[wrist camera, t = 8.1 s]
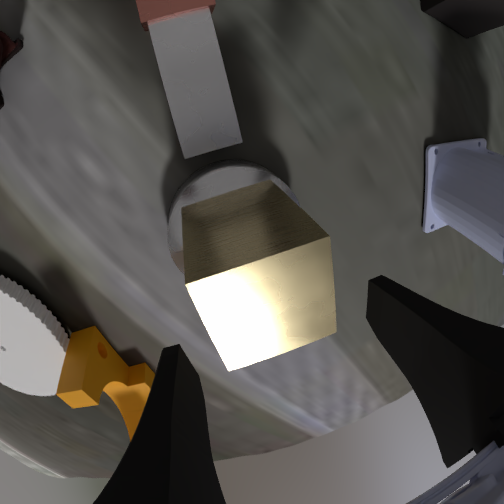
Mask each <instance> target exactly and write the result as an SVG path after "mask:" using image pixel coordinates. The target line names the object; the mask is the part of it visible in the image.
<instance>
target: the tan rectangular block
mask: <svg viewBox="0 0 504 504" xmlns="http://www.w3.org/2000/svg"><path fill="white" fill-rule="evenodd" d="M181 213H182V238H183V257H184V273H185V285H186V287H187V289H188V291H189V293H190V296H191V298H192V300H193V302H194V304H195V306H196V308H197V310H198V312H199V314H200V316H201V318H202V320H203V322H204V324H205V326H206V328H207V330H208V332H209V334H210V336H211V338H212V340H213V342H214V344H215V346H216V348H217V350H218V351H219V353H220V355H221V357H222V359H223V361H224V363H225V365H226V366H227V368H228V370H229V371H231V370H234V369H237V368H240V367H243V366H247V365H250V364H253V363H256V362H259V361H262V360H265V359H268V358H271V357H273V356H276V355H279V354H282V353H285V352H287V351H290V350H293V349H295V348H298V347H301V346H303V345H306V344H309V343H311V342H314V341H316V340H319V339H321V338H324V337H326V336H329V335H331V334H333V333H336V310H335V292H334V278H333V265H332V254H331V243H330V236H329V235H328V234H327V233H326V232H325V231H324V230H323V229H322V228H321V227H320V226H319V225H318V224H317V223H316V222H315V221H314V220H313V219H312V218H311V217H310V216H309V215H308V214H307V213H306V212H305V211H304V210H303V209H302V208H300V207H299V206H298V205H297V204H296V203H295V202H294V201H293V200H292V199H291V198H290V197H289V196H288V195H287V194H286V193H285V192H283V191H282V190H281V189H280V188H279V187H278V186H277V185H276V184H275V183H274V182H273V181H271V180H267V181H263V182H260V183H256V184H253V185H250V186H246V187H243V188H240V189H237V190H233V191H230V192H227V193H224V194H221V195H218V196H215V197H212V198H209V199H205V200H202V201H199V202H196V203H193V204H191V205H188V206H185V207H182V208H181Z"/></svg>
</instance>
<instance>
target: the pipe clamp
mask: <svg viewBox="0 0 504 504" xmlns="http://www.w3.org/2000/svg"><path fill="white" fill-rule="evenodd" d="M154 377H155V374H154V372H153V371H152V370H151V369H150V368H149V367H148V365H147V364H146V363H142V364H138V365H134V366H130V367H129V366H128V365H127V364H126V363H125V362H124V361H123V360H122V358H121V357H120V356H119V355H118V354H117V352H116V351H115V350H114V349H113V348H112V346H111V345H110V344H109V343H108V342H107V340H106V339H105V338H104V337H103V335H102V334H101V333H100V332H99V330H98V329H97V328H96V326H92V327H89V328H86V329H82V330H79V331H76V332H73V333H72V334H71V337H70V341H69V344H68V347H67V351H66V355H65V358H64V362H63V366H62V370H61V374H60V378H59V383H58V387H57V392H56V395H58V396H59V397H60V398H61V399H62V400H63V401H65V402H66V403H67V404H68V405H69V406H71V407H72V408H79V407H86V406H93V405H99V399H100V395H101V393H102V391H104V392H106V393H107V394H108V395H109V396H110V397H111V398H112V400H113V401H114V402H115V404H116V405H117V407H118V408H119V410H120V412H121V414H122V416H123V418H124V420H125V423H126V426H127V429H128V432H129V437H130V441H131V439H132V437H133V435H134V433H135V430H136V428H137V425H138V423H139V420H140V418H141V415H142V412H143V410H144V407H145V404H146V401H147V398H148V395H149V392H150V389H151V386H152V383H153V380H154Z"/></svg>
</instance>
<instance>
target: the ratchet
mask: <svg viewBox="0 0 504 504" xmlns="http://www.w3.org/2000/svg"><path fill="white" fill-rule="evenodd" d="M136 4H137V8H138V12H139V17H140V21H141V24H142V26H143V28H144V30H145V31H148V30H149V31H150V35H151V39H152V43H153V47H154V51H155V55H156V59H157V63H158V66H159V70H160V74H161V78H162V81H163V85H164V89H165V92H166V96H167V100H168V103H169V107H170V110H171V114H172V118H173V121H174V125H175V128H176V131H177V135H178V138H179V142H180V145H181V148H182V152H183V155H184V158H185V159H187V158H190V157H193V156H197V155H200V154H203V153H207V152H210V151H213V150H217V149H221V148H224V147H228V146H231V145H235V144H239V143H243V141H242V137H241V133H240V129H239V125H238V120H237V116H236V112H235V108H234V104H233V100H232V96H231V92H230V88H229V84H228V80H227V76H226V72H225V68H224V64H223V60H222V56H221V52H220V48H219V44H218V40H217V36H216V32H215V28H214V25H213V21H212V17H211V14H212V12H213V10H214V7H215V5H216V4H215V0H136ZM267 180H271V181H273V182H274V183H275V184H276V185H277V186H278V187H279V188H280V189H281V190H282V191H283V192H285V193H286V194H287V195H288V196H289V197H290V198H291V199H292V200H293V201H294V202H295V203H296V204H297V205H298V206H299V207H300V204H299V202H298V200H297V198H296V196H295V195H294V193H293V192H292V191H291V189H290V188H289V187H288V186H287V185H286V184H285V183H284V182H283V181H282V180H280V179H279V178H278V177H277V176H276V175H274V174H273V173H272V172H270V171H269V170H268V169H266V168H265V167H263V166H261V165H259V164H256V163H253V162H250V161H244V160H223V161H219V162H215V163H212V164H209V165H207V166H205V167H203V168H201V169H199V170H198V171H196V172H195V173H193V174H192V175H191V176H190V177H189V178H188V179H186V180H185V182H184V183H183V184H182V185H181V186H180V188H179V189H178V191H177V193H176V194H175V196H174V199H173V201H172V204H171V207H170V212H169V220H168V245H169V250H170V253H171V256H172V258H173V260H174V262H175V264H176V266H177V267H178V268H179V270H180V271H181V272H182V273H183V274H184V275H185V273H184V257H183V238H182V213H181V208H182V207H185V206H188V205H191V204H193V203H196V202H199V201H202V200H205V199H209V198H212V197H215V196H218V195H221V194H224V193H227V192H230V191H233V190H237V189H240V188H243V187H246V186H250V185H253V184H256V183H260V182H263V181H267ZM300 208H301V207H300Z"/></svg>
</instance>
